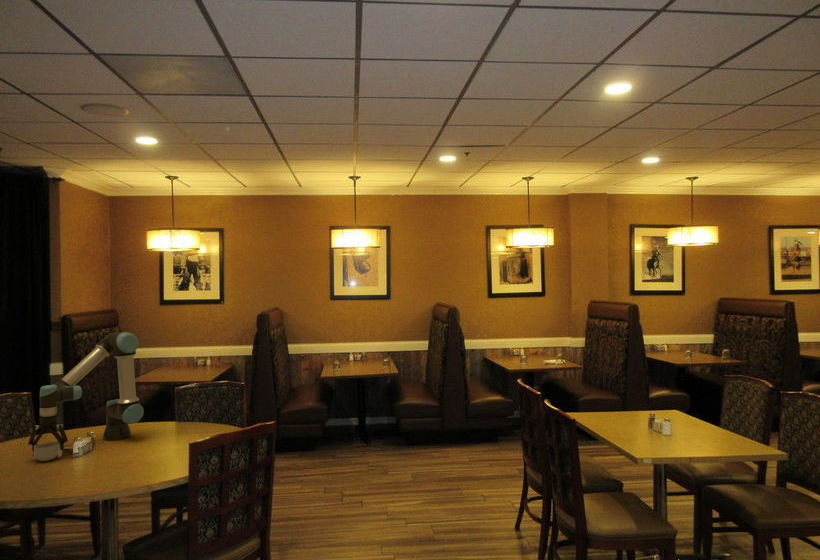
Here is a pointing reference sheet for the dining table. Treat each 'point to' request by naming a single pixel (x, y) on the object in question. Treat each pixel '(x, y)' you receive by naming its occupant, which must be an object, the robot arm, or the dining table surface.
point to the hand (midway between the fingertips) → (48, 456)
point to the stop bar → (65, 451)
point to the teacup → (46, 451)
